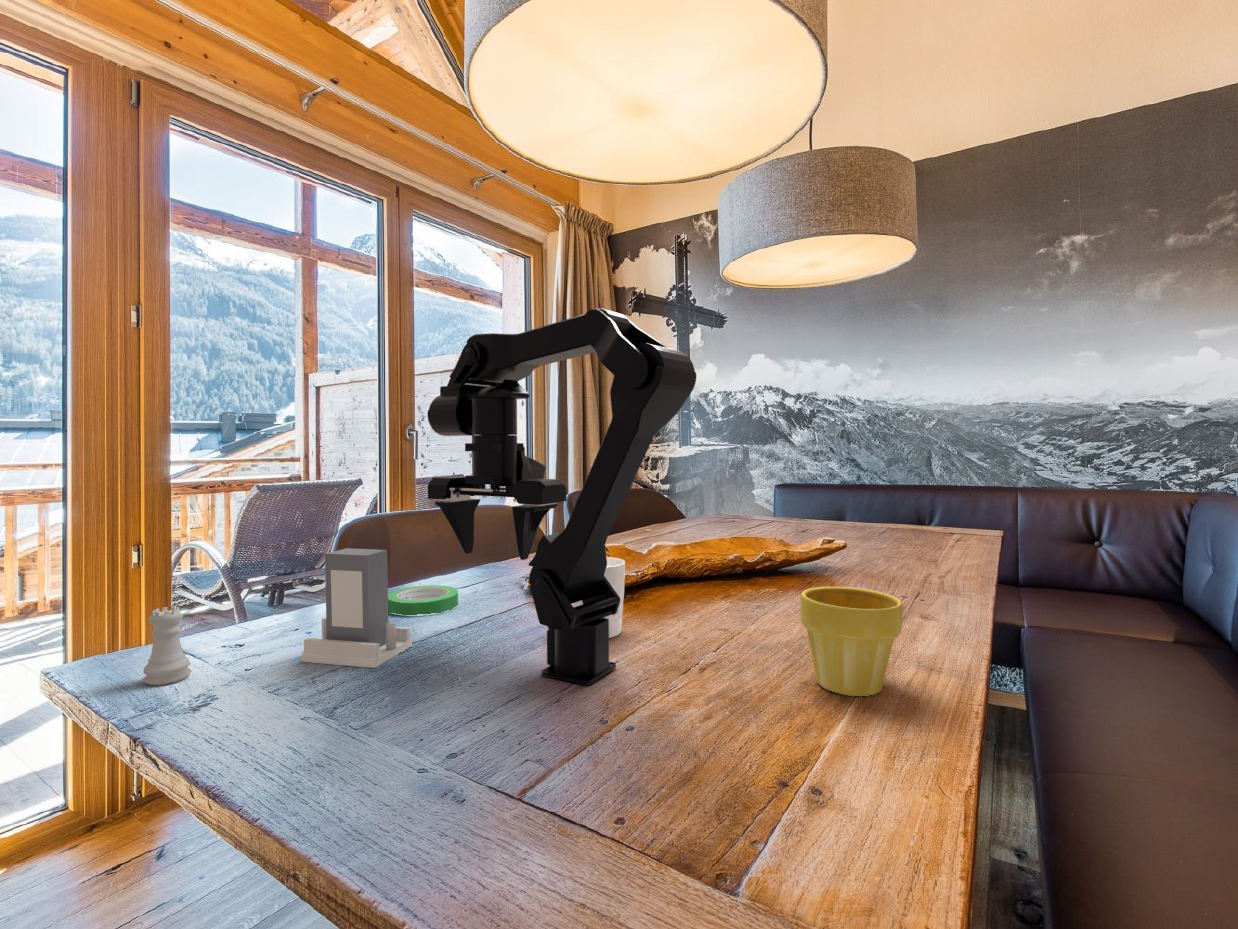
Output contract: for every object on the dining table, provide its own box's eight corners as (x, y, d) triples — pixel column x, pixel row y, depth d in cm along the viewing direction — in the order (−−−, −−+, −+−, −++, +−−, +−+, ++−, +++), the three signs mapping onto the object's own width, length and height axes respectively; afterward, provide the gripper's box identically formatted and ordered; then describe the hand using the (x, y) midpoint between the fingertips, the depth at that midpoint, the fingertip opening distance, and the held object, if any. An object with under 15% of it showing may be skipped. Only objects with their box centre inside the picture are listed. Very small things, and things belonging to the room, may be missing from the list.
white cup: (595, 621, 91) (594, 554, 91) (636, 631, 86) (636, 560, 86) (557, 633, 85) (557, 562, 85) (600, 645, 80) (599, 569, 80)
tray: (413, 646, 80) (412, 614, 80) (376, 668, 72) (375, 633, 72) (344, 641, 82) (343, 610, 82) (300, 661, 75) (300, 627, 75)
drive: (388, 642, 79) (387, 550, 78) (369, 653, 75) (367, 555, 74) (348, 639, 80) (346, 548, 80) (326, 649, 76) (325, 553, 76)
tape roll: (419, 622, 92) (418, 605, 92) (372, 612, 98) (372, 595, 98) (472, 606, 102) (472, 590, 101) (426, 597, 107) (426, 582, 107)
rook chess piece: (201, 674, 71) (199, 605, 71) (163, 688, 66) (161, 616, 66) (171, 670, 72) (169, 603, 72) (132, 684, 68) (130, 613, 67)
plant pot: (897, 674, 70) (898, 589, 70) (906, 711, 60) (907, 612, 60) (802, 663, 73) (803, 582, 73) (797, 696, 64) (797, 603, 63)
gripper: (589, 435, 81) (590, 552, 81) (481, 436, 90) (482, 542, 91) (539, 434, 71) (540, 567, 72) (424, 435, 80) (425, 553, 81)
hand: (495, 556), depth 79 cm, fingers open, 9 cm apart
